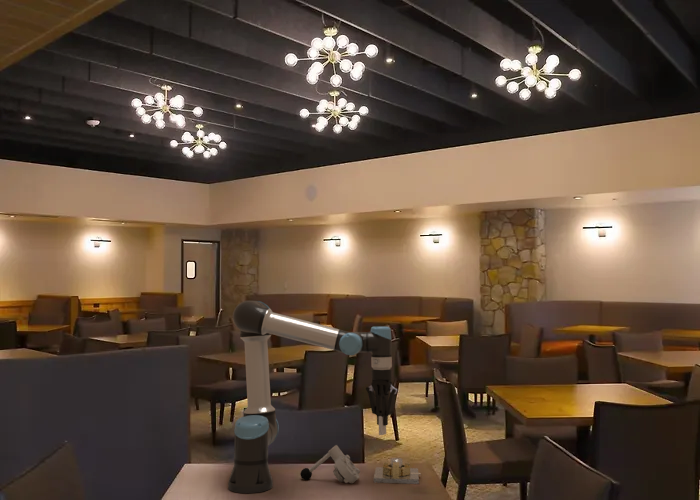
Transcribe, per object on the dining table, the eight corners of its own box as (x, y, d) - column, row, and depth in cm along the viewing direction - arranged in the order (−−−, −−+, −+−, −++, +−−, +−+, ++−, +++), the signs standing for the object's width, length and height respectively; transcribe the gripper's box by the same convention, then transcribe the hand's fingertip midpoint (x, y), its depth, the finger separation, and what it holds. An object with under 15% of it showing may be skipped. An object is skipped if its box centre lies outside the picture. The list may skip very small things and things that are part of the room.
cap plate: (373, 482, 217) (373, 463, 217) (376, 471, 232) (376, 453, 233) (420, 483, 215) (420, 464, 216) (420, 472, 231) (420, 454, 231)
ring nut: (383, 468, 229) (383, 455, 230) (410, 469, 228) (410, 456, 229) (381, 478, 216) (381, 464, 216) (410, 479, 215) (410, 465, 215)
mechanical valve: (358, 478, 211) (331, 443, 216) (319, 511, 212) (294, 475, 216) (363, 473, 221) (338, 439, 225) (327, 504, 222) (302, 470, 226)
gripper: (361, 368, 224) (362, 434, 222) (391, 370, 217) (392, 438, 214) (372, 367, 230) (373, 431, 228) (402, 368, 223) (403, 434, 220)
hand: (382, 434), depth 221 cm, fingers closed
